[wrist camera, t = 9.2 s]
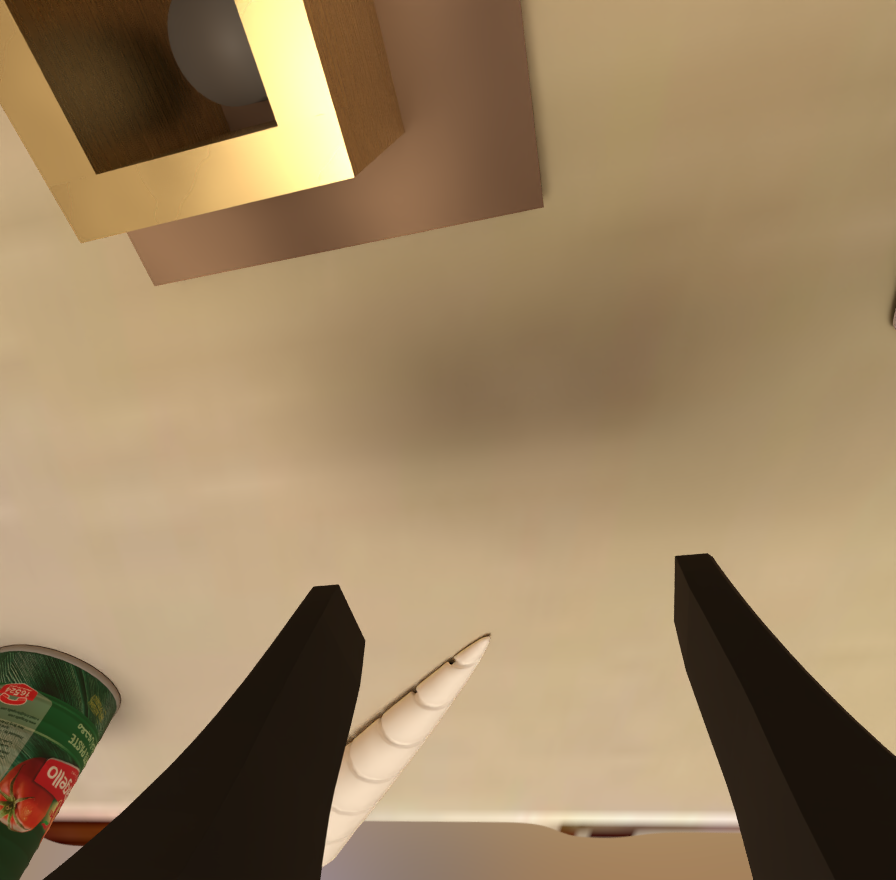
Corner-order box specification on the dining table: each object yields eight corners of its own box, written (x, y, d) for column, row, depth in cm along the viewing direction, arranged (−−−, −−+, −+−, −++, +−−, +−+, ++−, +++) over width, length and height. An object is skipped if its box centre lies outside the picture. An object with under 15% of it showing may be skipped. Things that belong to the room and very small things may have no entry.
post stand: (478, -352, 11) (467, -525, 7) (541, 197, 16) (550, 236, 13) (-35, -149, 13) (-216, -214, 10) (173, 273, 18) (102, 322, 15)
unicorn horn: (549, 656, 29) (556, 751, 25) (343, 803, 42) (326, 883, 38) (474, 619, 28) (469, 713, 24) (284, 782, 40) (260, 862, 36)
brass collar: (334, -166, 11) (207, -324, 7) (405, 132, 14) (354, 177, 10) (103, -82, 13) (-154, -163, 8) (214, 180, 16) (80, 243, 11)
